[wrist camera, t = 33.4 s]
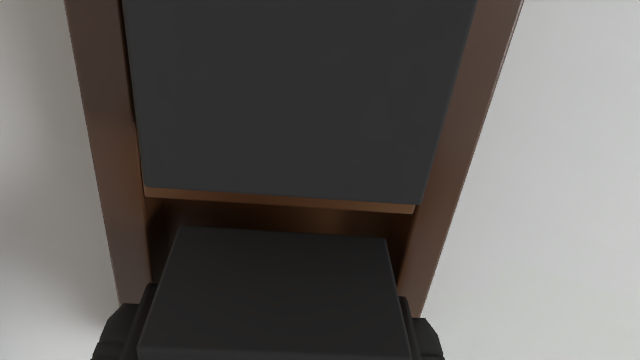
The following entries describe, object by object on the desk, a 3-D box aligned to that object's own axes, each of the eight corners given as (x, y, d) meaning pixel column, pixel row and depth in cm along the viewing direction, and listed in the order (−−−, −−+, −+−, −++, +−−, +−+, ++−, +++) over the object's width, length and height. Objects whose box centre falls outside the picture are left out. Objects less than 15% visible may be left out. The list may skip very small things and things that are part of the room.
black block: (169, -152, 8) (99, -164, 5) (442, -118, 9) (512, -113, 6) (184, 105, 11) (142, 189, 8) (391, 122, 12) (422, 207, 9)
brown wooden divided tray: (541, -212, 9) (603, -234, 7) (385, 341, 17) (395, 395, 15) (68, -283, 8) (1, -327, 6) (151, 331, 16) (133, 387, 15)
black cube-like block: (178, 223, 11) (134, 349, 8) (386, 236, 12) (414, 360, 9) (188, 356, 14) (157, 486, 11) (356, 362, 14) (369, 490, 11)
